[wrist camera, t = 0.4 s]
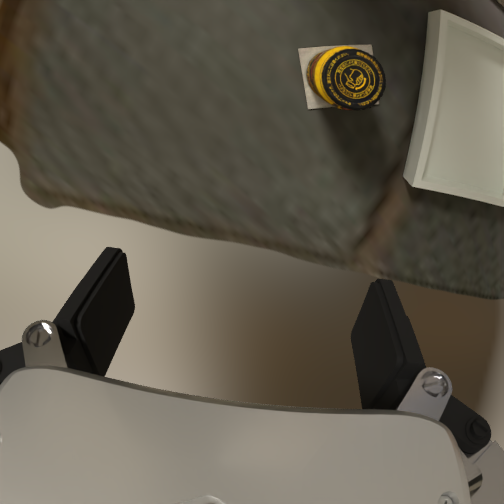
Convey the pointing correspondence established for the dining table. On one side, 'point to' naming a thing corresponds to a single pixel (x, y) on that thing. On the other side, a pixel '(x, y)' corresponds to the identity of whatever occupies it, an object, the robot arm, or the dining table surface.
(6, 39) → the dining table surface
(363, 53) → the condiment
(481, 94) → the tray
